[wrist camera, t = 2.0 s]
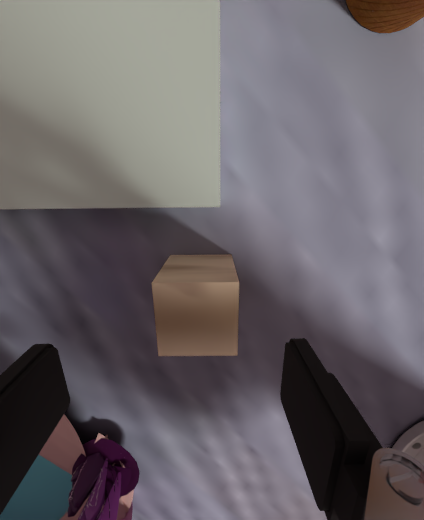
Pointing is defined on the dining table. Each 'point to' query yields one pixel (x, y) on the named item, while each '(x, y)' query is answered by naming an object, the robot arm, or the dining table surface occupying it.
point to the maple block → (197, 306)
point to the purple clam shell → (76, 480)
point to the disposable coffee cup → (386, 13)
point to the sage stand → (109, 104)
